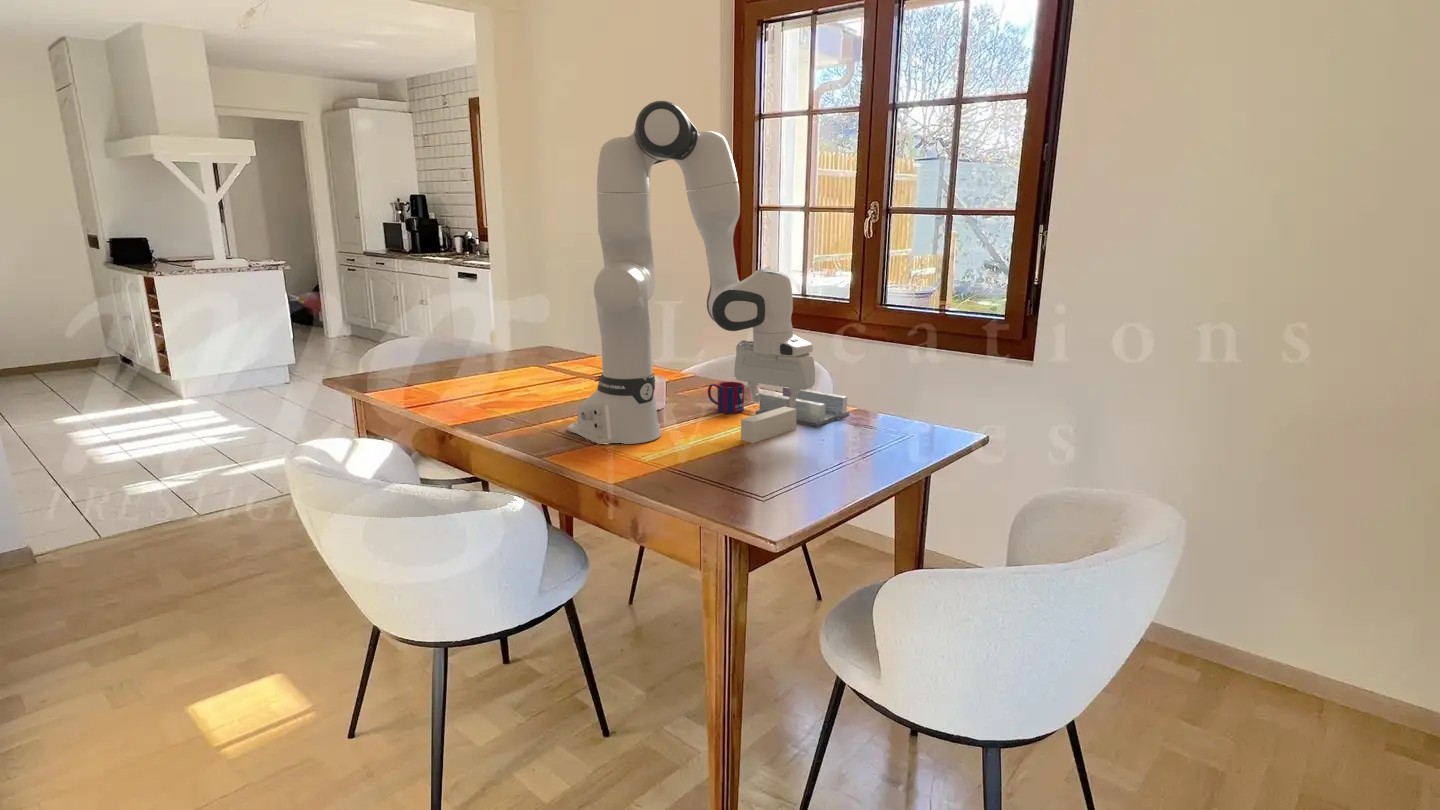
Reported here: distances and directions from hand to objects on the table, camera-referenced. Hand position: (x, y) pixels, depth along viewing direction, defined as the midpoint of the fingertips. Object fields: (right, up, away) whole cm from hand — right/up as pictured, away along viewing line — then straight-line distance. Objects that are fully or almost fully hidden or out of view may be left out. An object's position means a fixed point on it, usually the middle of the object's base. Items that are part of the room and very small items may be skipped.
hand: (773, 403), depth 176 cm
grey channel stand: (+9, -3, +19) cm, 21 cm away
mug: (-11, -2, +24) cm, 26 cm away
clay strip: (-1, -7, +2) cm, 7 cm away
